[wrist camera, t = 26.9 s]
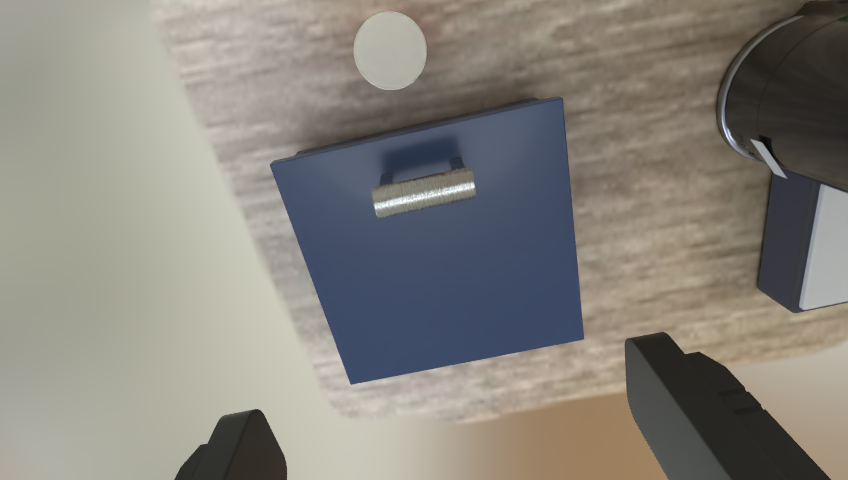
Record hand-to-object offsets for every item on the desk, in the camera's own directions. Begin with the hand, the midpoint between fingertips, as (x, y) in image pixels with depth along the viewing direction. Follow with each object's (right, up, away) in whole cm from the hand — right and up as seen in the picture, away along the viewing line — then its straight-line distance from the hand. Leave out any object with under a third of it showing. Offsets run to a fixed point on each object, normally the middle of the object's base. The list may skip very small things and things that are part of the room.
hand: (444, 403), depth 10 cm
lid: (+1, +3, +20) cm, 20 cm away
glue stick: (-2, +16, +19) cm, 25 cm away
